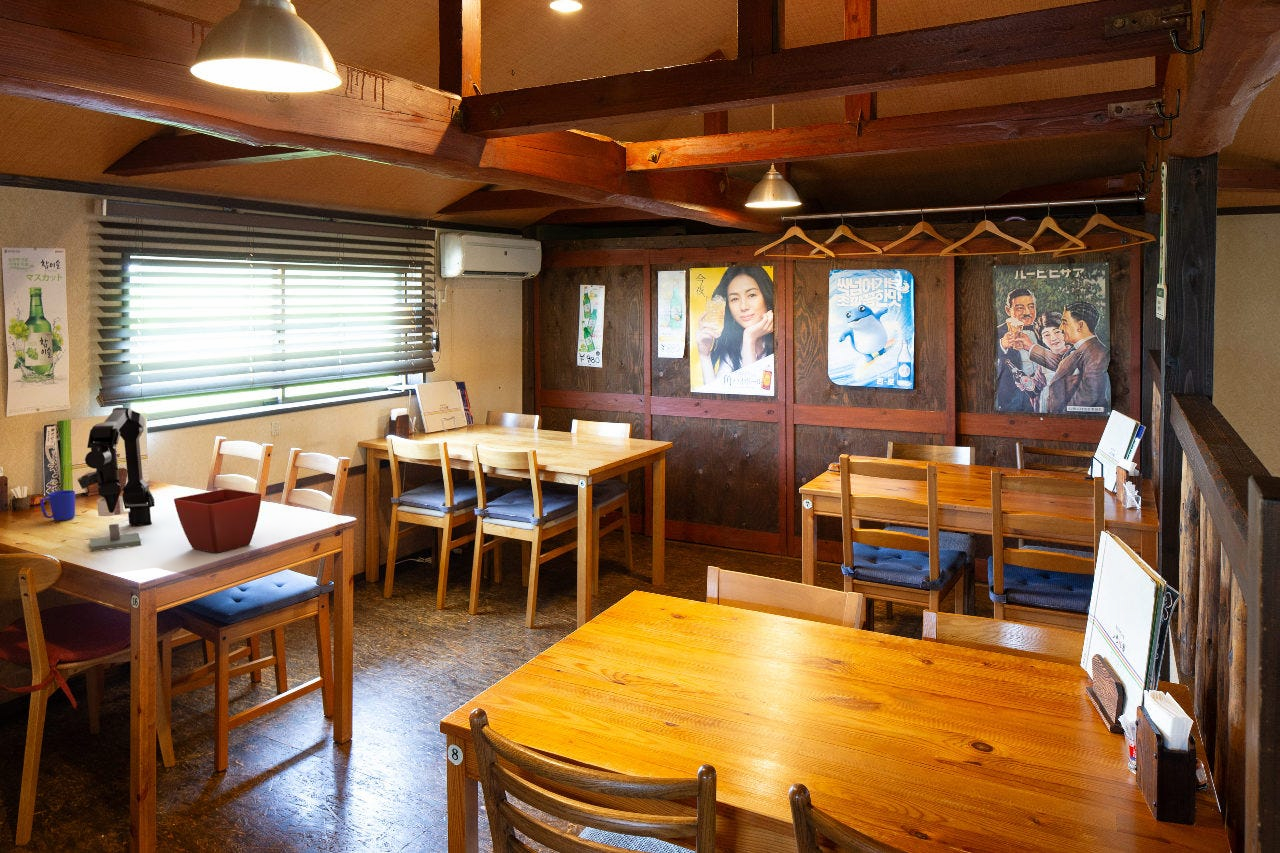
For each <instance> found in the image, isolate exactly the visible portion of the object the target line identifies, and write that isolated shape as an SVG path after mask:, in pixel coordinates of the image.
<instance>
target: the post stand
mask: <svg viewBox="0 0 1280 853" xmlns="http://www.w3.org/2000/svg"><path fill="white" fill-rule="evenodd" d="M108 529H109V536H102V537H101V536H99V537H94V538H90V539H89V542H90V543H89V544H90V551H91V552H95V551H94V550H99V551H103V550H102V549H106V550H109V549H108V548H114V549H118V548H117V547H122V548H127V547H126V546H130V547H135V545H137V546H142V541H141V538H140V535H139V534H140V533H139V532H135V533H128V534H127V533H126V534H120V533H121V532H120V524H119V523H111V524H109V525H108Z"/></svg>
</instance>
